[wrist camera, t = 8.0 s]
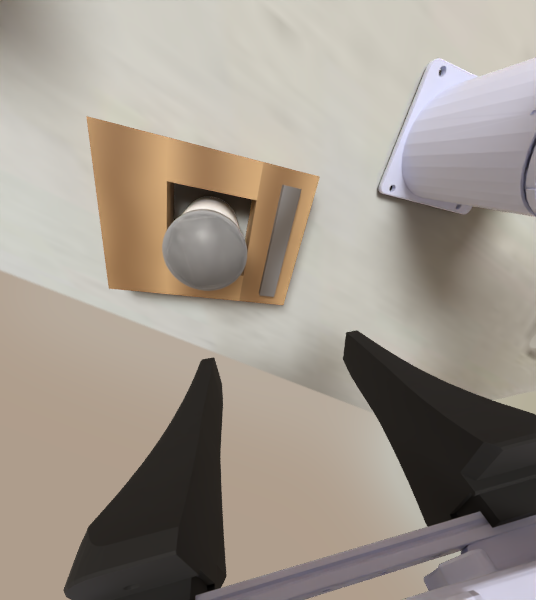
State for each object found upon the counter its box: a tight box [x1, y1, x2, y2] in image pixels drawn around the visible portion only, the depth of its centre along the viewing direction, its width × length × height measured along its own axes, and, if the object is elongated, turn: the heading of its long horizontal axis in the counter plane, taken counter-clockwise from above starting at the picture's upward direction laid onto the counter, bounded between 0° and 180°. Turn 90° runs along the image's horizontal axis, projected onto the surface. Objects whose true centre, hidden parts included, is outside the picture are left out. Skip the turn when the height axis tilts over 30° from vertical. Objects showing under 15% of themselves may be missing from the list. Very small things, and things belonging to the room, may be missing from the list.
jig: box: [86, 116, 319, 305], centre depth 16 cm, size 13×10×3 cm
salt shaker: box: [162, 196, 247, 291], centre depth 15 cm, size 4×4×7 cm
